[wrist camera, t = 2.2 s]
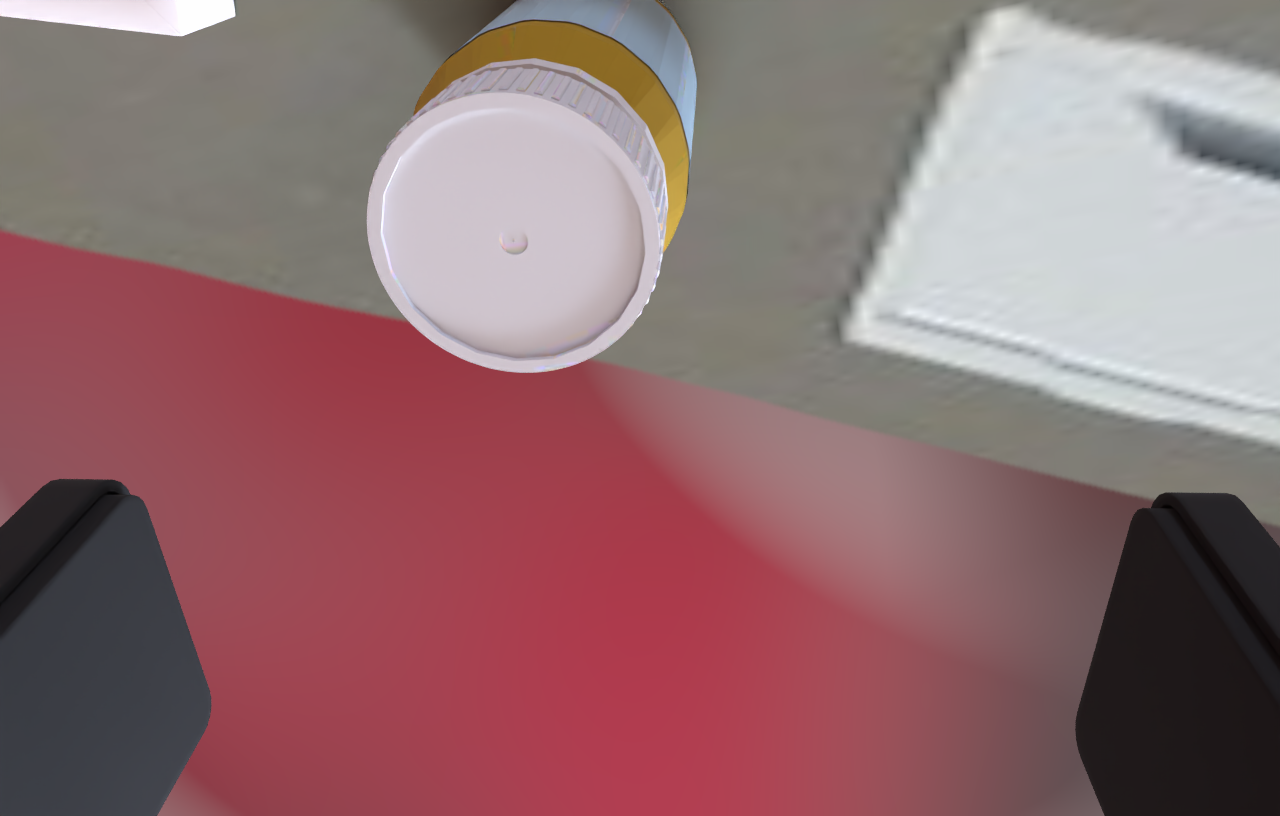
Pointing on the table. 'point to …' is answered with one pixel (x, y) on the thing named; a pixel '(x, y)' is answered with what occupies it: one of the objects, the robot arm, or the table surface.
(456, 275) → the bottle
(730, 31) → the table surface
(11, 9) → the framed art
